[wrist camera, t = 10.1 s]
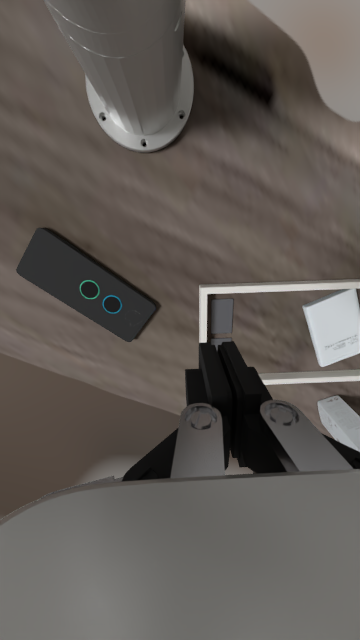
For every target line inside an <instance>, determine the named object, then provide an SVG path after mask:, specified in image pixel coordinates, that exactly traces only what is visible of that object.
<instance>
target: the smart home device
mask: <svg viewBox="0 0 360 640" xmlns="http://www.w3.org/2000/svg"><path fill="white" fill-rule="evenodd" d="M16 271H17V273H18V274H19V275H20V276H22V277H23V278H25V279H26V280H28V281H30V282H31V283H33V284H35V285H36V286H38V287H39V288H41V289H43V290H44V291H46V292H47V293H49V294H51V295H52V296H54V297H55V298H57V299H59V300H60V301H62V302H64V303H65V304H67V305H68V306H70V307H72V308H73V309H75V310H76V311H78V312H80V313H81V314H83V315H84V316H86V317H88V318H89V319H91V320H93V321H94V322H96V323H97V324H99V325H101V326H102V327H104V328H105V329H107V330H109V331H110V332H112V333H114V334H115V335H117V336H118V337H120V338H122V339H123V340H125V341H127V342H131V341H132V340H133V339H134V337H135V336H136V335H137V333H138V332H139V331H140V329H141V328H142V327H143V325H144V324H145V323H146V321H147V320H148V319H149V317H150V316H151V315H152V313H153V312H154V310H155V309H156V305H155V303H154V302H153V301H151V300H150V299H148V298H147V297H146V296H144V295H143V294H141V293H140V292H138V291H137V290H135V289H134V288H132V287H131V286H130V285H128V284H127V283H125V282H124V281H122V280H121V279H119V278H118V277H116V276H115V275H114V274H112V273H111V272H109V271H108V270H106V269H105V268H103V267H102V266H100V265H99V264H98V263H96V262H95V261H93V260H92V259H90V258H89V257H87V256H86V255H84V254H83V253H82V252H80V250H78V249H77V248H76V247H74V246H73V245H71V244H70V243H68V242H67V241H65V240H63V239H61V238H60V237H58V236H57V235H55V234H54V233H52V232H51V231H49V230H48V229H45V228H37V230H36V231H35V233H34V235H33V237H32V239H31V241H30V243H29V245H28V247H27V249H26V251H25V253H24V255H23V257H22V259H21V261H20V263H19V265H18V267H17V269H16Z"/></svg>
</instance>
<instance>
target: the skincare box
mask: <svg viewBox="0 0 360 640" xmlns="http://www.w3.org/2000/svg"><path fill="white" fill-rule="evenodd" d="M318 410H319V415H320V419H321V422H322V424H323V425H324V426H325V427H326V429H327V430H328V431H329V432H330V434H331V435H332V436H333V437H334V439H335V440H336V441H338V442H340V443H342V444H344V445H346V446H348V447H351V448H353V449H355V450H357V451H359V452H360V416H359V415H358V414H357V413H356V412H355V411H354V410H353V409H352V408H351V407H350V406H349V405H348V404H347V403H346V402H345V401H344V400H342V399H341V398H340V397H339V396H338V395H337V396H332V397H329V398H326V399H323V400H320V401H318Z"/></svg>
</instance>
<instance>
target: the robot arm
mask: <svg viewBox="0 0 360 640" xmlns="http://www.w3.org/2000/svg"><path fill="white" fill-rule="evenodd" d="M44 2H45V4H46V5H47V7H48V9H49V11H50V13H51V14H52V16H53V18H54V20H55V21H56V23H57V25H58V27H59V28H60V30H61V32H62V34H63V35H64V37H65V39H66V41H67V42H68V44H69V46H70V48H71V49H72V51H73V53H74V55H75V56H76V58H77V60H78V62H79V63H80V65H81V67H82V69H83V70H84V72H85V78H86V90H87V95H88V100H89V103H90V106H91V108H92V111H93V114H94V115H95V117H96V119H97V121H98V123H99V124H100V126H101V127H102V129H103V130H104V131H105V132H106V133H107V135H108V136H109V137H110V138H111V139H112V140H113V141H115V142H116V143H117V144H119V145H120V146H122V147H124V148H126V149H128V150H131V151H135V152H144V153H148V152H153V151H157V150H160V149H162V148H164V147H166V146H167V145H169V144H170V143H171V142H173V141H174V140H175V139H176V137H177V136H178V135H179V134H180V133H181V131H182V130H183V128H184V126H185V125H186V122H187V120H188V117H189V115H190V111H191V107H192V102H193V94H194V78H193V72H192V65H191V62H190V59H189V56H188V53H187V51H186V49H185V47H184V45H183V35H184V16H185V0H44ZM180 116H183V119H180V118H179V117H180ZM103 118H106V120H105V121H103ZM144 143H146V144H147V146H146V147H143V144H144ZM185 381H186V402H187V407H186V408H185V409H184V410H183V411H182V413H181V416H180V423H179V428H178V429H177V430H175V431H174V432H173V433H172V434H171V435H169V436H168V437H167V438H166V439H165V440H164V441H162V442H161V443H160V444H159V445H157V446H156V447H155V448H154V449H153V450H152V451H150V452H149V453H148V454H147V455H146V456H144V457H143V458H142V459H141V460H140V461H138V462H137V463H136V464H135V465H134V466H133V467H131V468H130V470H128V471H127V473H126V474H125V475H124V477H121V478H117V479H114V476H111V477H107V478H103V479H99V480H96V481H92V482H88V483H85V484H81V485H77V486H73V487H70V488H66V489H63V490H59V491H55V492H52V493H50V494H47V495H45V496H43V497H42V498H40V499H39V500H36V501H34V502H32V503H29V504H27V505H25V506H23V507H21V508H20V509H17V510H16V511H14V512H12V513H11V514H9V515H7V516H5V517H4V518H3V519H1V520H0V640H360V452H359V451H357V450H355V449H353V448H351V447H348V446H346V445H344V444H342V443H340V442H338V441H336V440H334V439H332V438H330V437H328V436H326V435H324V434H322V433H320V431H319V430H318V429H317V428H316V427H315V426H314V425H313V424H312V423H311V422H310V421H309V419H308V418H307V417H306V416H305V415H304V414H303V413H302V412H301V411H300V410H299V409H298V408H297V407H296V406H294V405H292V404H291V403H288V402H285V401H282V400H273V399H272V397H271V395H270V394H269V392H268V390H267V388H266V387H265V385H264V383H263V381H262V380H261V378H260V376H259V375H258V373H257V371H256V369H255V368H254V367H247V365H246V363H245V362H244V360H243V358H242V356H241V354H240V352H239V350H238V348H237V347H236V345H235V343H234V341H231V342H222V344H221V345H218V348H217V349H216V347H215V345H211V343H210V342H206V343H199V369H186V370H185ZM230 450H231V454H232V457H233V458H237V460H238V463H239V467H248V468H250V469H251V470H253V474H242V475H241V474H240V475H225V470H226V469H227V467H228V462H229V454H230V452H229V451H230Z"/></svg>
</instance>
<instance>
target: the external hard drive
mask: <svg viewBox="0 0 360 640" xmlns="http://www.w3.org/2000/svg"><path fill="white" fill-rule="evenodd" d="M303 310H304V313H305V317H306V320H307V324H308V327H309V331H310V334H311V338H312V342H313V345H314V349H315V352H316V356H317V359H318V363H319V365H320V366H321V367H324V366H327V365H330V364H332V363H335V362H337V361H340V360H343V359H345V358H348V357H351V356H353V355H356V354H359V353H360V308H359V303H358V298H357V292H356V289H342V290H340V291H337V292H335V293H332V294H330V295H328V296H325V297H323V298H320V299H318V300H315V301H313V302H311V303H308V304H306V305H303Z"/></svg>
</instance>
